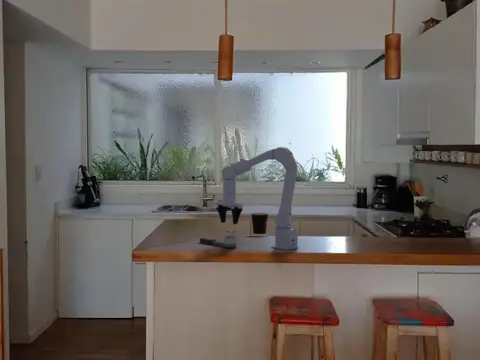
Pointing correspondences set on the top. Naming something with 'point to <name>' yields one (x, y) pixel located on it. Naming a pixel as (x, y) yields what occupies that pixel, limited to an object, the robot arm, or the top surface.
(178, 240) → the top surface
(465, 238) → the top surface
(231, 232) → the socket
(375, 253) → the top surface
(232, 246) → the ratchet
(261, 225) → the coffee mug
